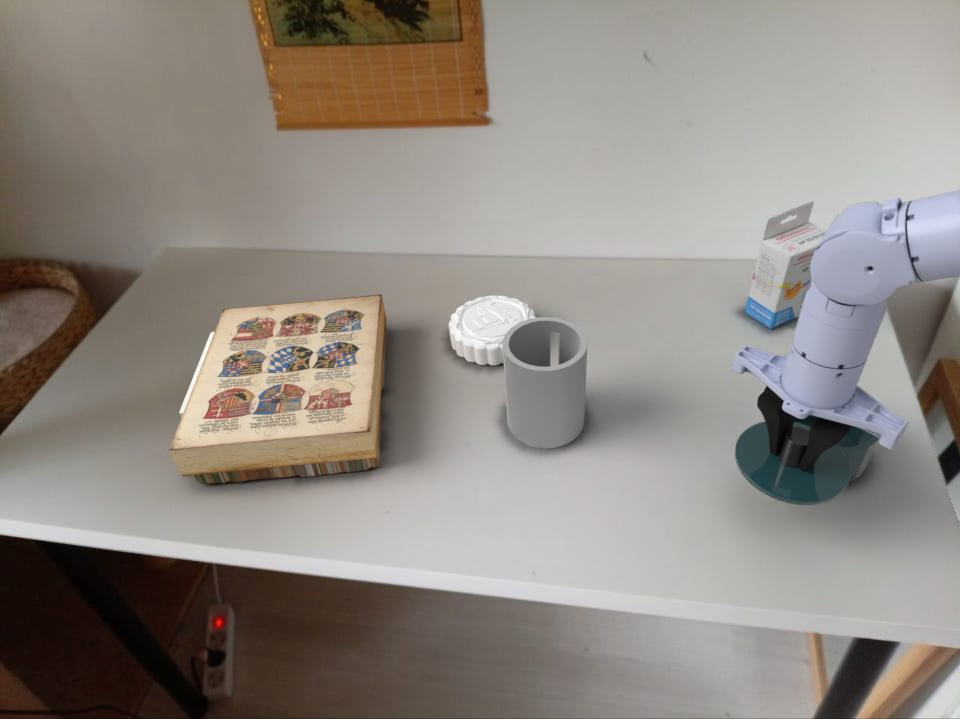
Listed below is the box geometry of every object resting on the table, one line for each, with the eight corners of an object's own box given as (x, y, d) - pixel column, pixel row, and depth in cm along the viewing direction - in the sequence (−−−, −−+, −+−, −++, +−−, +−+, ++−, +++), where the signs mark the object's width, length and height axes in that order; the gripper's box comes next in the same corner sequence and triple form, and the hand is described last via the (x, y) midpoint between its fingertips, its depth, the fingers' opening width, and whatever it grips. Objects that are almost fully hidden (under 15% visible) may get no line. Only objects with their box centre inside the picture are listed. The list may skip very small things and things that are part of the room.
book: (220, 338, 99) (163, 491, 77) (205, 303, 95) (141, 453, 73) (389, 323, 99) (379, 470, 77) (382, 286, 95) (370, 431, 73)
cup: (516, 454, 78) (511, 377, 70) (501, 400, 85) (495, 324, 77) (593, 440, 78) (597, 362, 71) (572, 388, 85) (574, 311, 77)
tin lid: (871, 494, 62) (886, 463, 60) (770, 521, 61) (780, 491, 58) (805, 418, 70) (815, 387, 67) (714, 440, 69) (721, 410, 66)
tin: (885, 473, 72) (902, 438, 69) (803, 494, 71) (816, 460, 67) (829, 411, 79) (842, 377, 76) (754, 429, 78) (763, 396, 74)
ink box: (771, 331, 91) (796, 235, 81) (743, 312, 94) (764, 218, 85) (816, 310, 94) (846, 214, 84) (787, 292, 97) (813, 198, 87)
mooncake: (519, 304, 99) (518, 283, 97) (551, 353, 91) (550, 332, 88) (440, 324, 97) (437, 303, 95) (465, 376, 88) (462, 355, 86)
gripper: (724, 332, 58) (701, 439, 67) (900, 415, 50) (848, 526, 59) (767, 295, 62) (741, 403, 70) (940, 367, 53) (885, 479, 62)
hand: (792, 456), depth 65 cm, fingers closed on tin lid, 2 cm apart
